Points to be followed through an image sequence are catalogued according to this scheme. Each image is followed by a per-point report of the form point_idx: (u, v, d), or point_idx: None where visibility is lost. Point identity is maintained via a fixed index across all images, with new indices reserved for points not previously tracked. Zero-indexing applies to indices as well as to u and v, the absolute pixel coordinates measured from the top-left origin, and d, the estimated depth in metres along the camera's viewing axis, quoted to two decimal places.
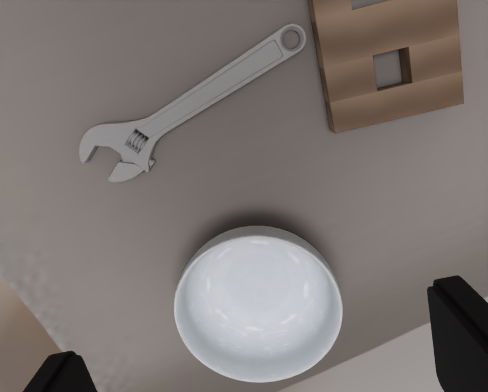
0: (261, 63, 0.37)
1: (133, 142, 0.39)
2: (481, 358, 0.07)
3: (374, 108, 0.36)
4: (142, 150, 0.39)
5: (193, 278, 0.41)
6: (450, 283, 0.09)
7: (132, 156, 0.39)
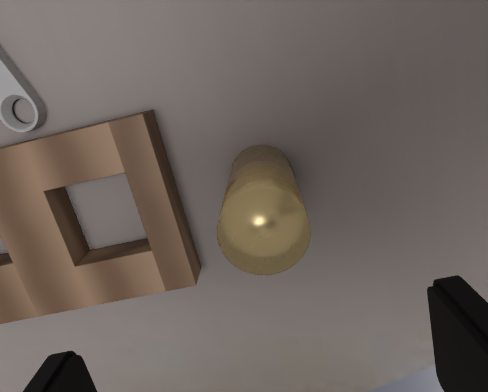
0: None
1: None
2: (481, 358, 0.07)
3: None
4: None
5: None
6: (450, 283, 0.09)
7: None
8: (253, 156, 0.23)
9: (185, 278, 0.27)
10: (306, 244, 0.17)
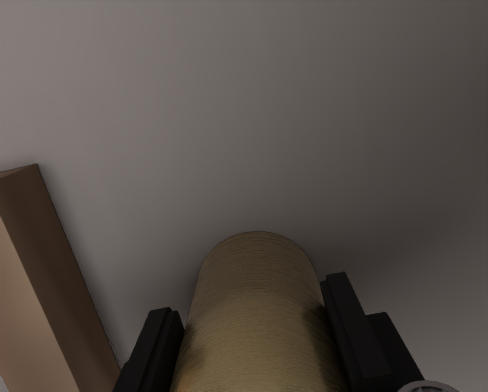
0: None
1: None
2: (338, 340, 0.09)
3: None
4: None
5: None
6: (334, 278, 0.10)
7: None
8: (239, 281, 0.10)
9: None
10: None
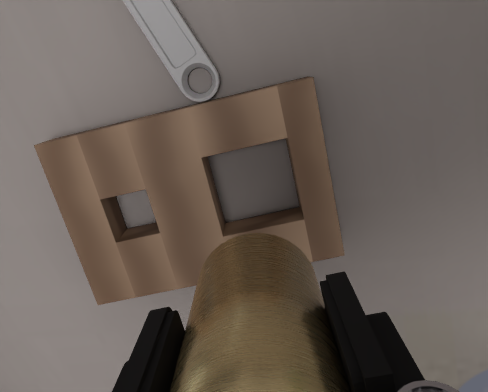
0: (162, 35, 0.24)
1: None
2: (338, 340, 0.09)
3: (77, 198, 0.26)
4: None
5: None
6: (334, 278, 0.10)
7: None
8: (239, 283, 0.10)
9: (334, 248, 0.26)
10: None
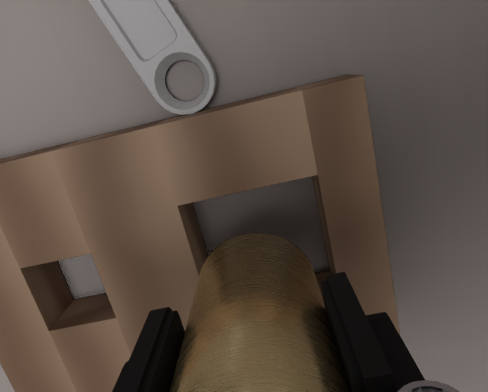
0: (122, 7, 0.15)
1: None
2: (338, 340, 0.09)
3: None
4: None
5: None
6: (334, 278, 0.10)
7: None
8: (239, 283, 0.10)
9: None
10: None
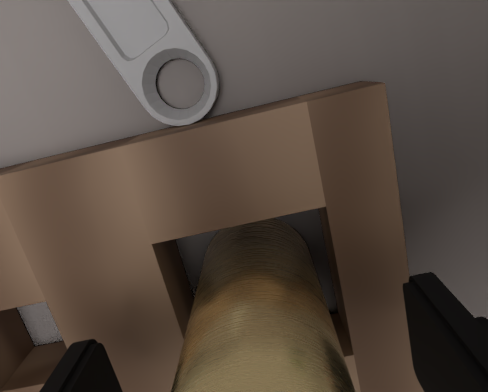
0: None
1: None
2: (446, 350, 0.08)
3: None
4: None
5: None
6: (423, 279, 0.09)
7: None
8: (242, 255, 0.12)
9: None
10: None
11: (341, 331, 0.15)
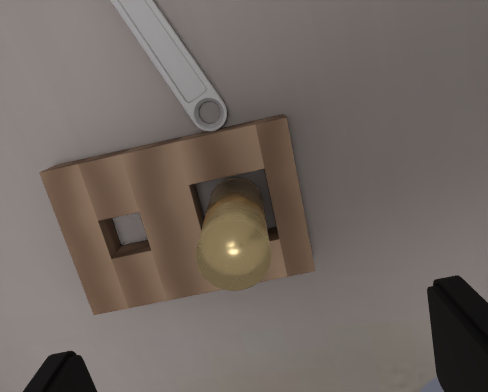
0: (176, 74, 0.28)
1: None
2: (481, 358, 0.07)
3: (77, 219, 0.29)
4: None
5: None
6: (450, 283, 0.09)
7: None
8: (228, 188, 0.27)
9: (306, 264, 0.30)
10: (268, 265, 0.22)
11: (276, 233, 0.31)
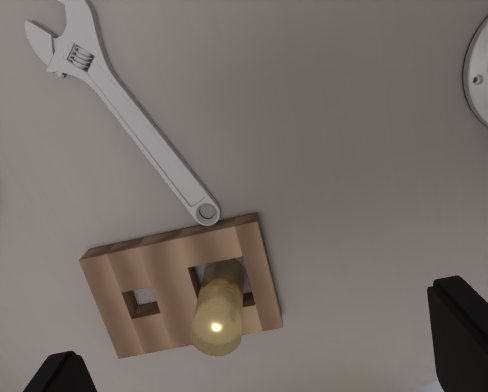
0: (182, 187, 0.38)
1: (77, 53, 0.34)
2: (481, 358, 0.07)
3: (106, 291, 0.39)
4: (70, 64, 0.34)
5: None
6: (450, 283, 0.09)
7: (61, 52, 0.34)
8: (216, 271, 0.38)
9: (276, 322, 0.40)
10: (239, 340, 0.32)
11: (254, 298, 0.41)
